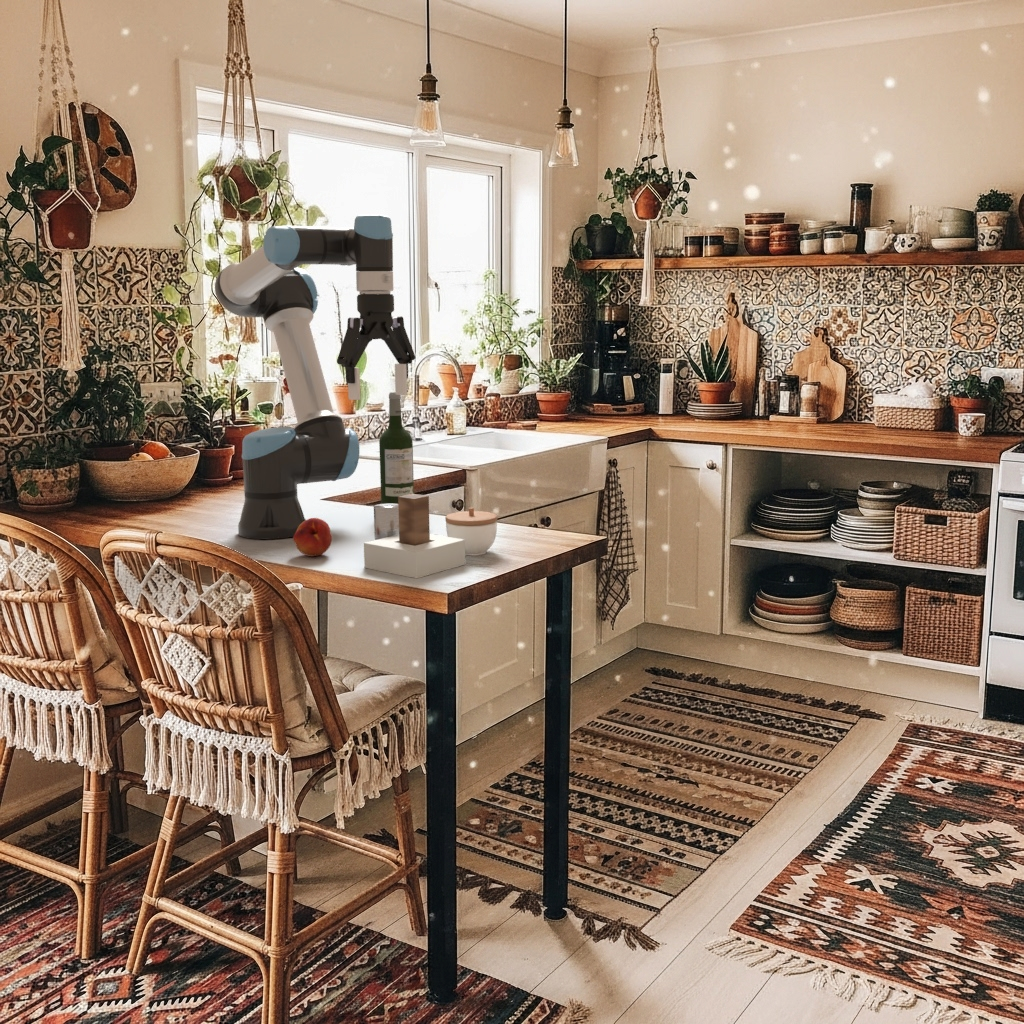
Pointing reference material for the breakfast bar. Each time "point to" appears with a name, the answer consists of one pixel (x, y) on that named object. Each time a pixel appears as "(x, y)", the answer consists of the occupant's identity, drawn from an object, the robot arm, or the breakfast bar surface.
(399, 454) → the wine bottle
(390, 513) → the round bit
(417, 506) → the square bit
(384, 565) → the socket block
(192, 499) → the breakfast bar surface
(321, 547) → the fruit
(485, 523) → the lidded jar
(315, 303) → the robot arm
